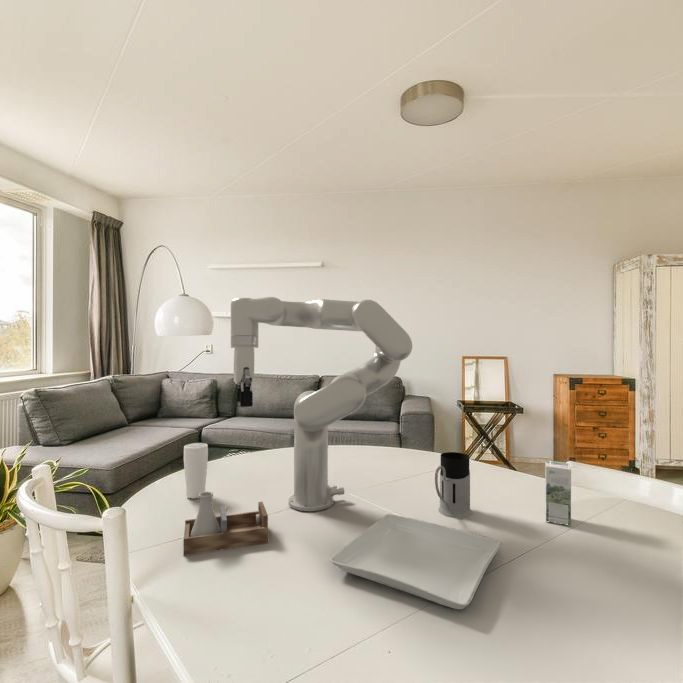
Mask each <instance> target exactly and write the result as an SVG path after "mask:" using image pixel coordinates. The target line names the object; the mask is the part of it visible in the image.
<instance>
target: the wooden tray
mask: <svg viewBox="0 0 683 683" xmlns="http://www.w3.org/2000/svg"><path fill="white" fill-rule="evenodd" d="M257 507H258V510H256V511H250V512H249V511H248V512H240V513H232V514H226V517H227V532H224V533H216V534H209V535H201V536H194V537H190V534H191V531H192V528H193V526H194V523H195V520H196V518H191V519H186V520H184V523H185V524H184V532H183V546H182V547H183V551H182V552H183V556H191V555H196V554H203V553H210V552H216V551H222V550H223V551H225V550H230V549H231V550H232V549H237V548H245V547H250V546H252V547H253V546H259V545H263V544H269V515H268V512H267V509H266V507H265V505H264V502H263V501H259V502H258V506H257ZM215 516H216V519H217V522H218V524H219V527H220V530H221V515H215Z"/></svg>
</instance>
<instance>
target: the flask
mask: <svg viewBox="0 0 683 683" xmlns="http://www.w3.org/2000/svg"><path fill="white" fill-rule="evenodd" d="M213 497H214V491H205V492H202V493H200V494H199V498H198V499H199V507H198V512H197V514H196V517H195V519H196V520H195V523H194V526H193V528H192V531H191V534H190V537H194V536H201V535H209V534H216V533H221V530H220V527H219V524H218V522H217V519H216V516H217V515H216V513H215V511H214V507H213V500H212V498H213Z"/></svg>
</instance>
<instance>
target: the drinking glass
mask: <svg viewBox="0 0 683 683" xmlns="http://www.w3.org/2000/svg"><path fill="white" fill-rule="evenodd" d="M208 447H209V445H208V443H203V442H193V443H188V444H185V445H184V446H183V466H184V477H185V478H184V479H185V492H186V493H185V494H186V495H185V496H186V497H187V498H188V499H190V498H191V499H192V500H193V499H194V500H196V498H197V499H200V498H199V494H200V493H202V492H206V486H207V485H206V482H207V472H208V471H207V470H208V459H209V458H208V457H209V448H208ZM191 499H190V500H191Z"/></svg>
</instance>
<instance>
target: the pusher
mask: <svg viewBox="0 0 683 683" xmlns="http://www.w3.org/2000/svg"><path fill="white" fill-rule="evenodd" d="M226 515H227V511H226V506H224V505H223V506H220V516H221V533H224V532H227V517H226Z"/></svg>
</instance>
